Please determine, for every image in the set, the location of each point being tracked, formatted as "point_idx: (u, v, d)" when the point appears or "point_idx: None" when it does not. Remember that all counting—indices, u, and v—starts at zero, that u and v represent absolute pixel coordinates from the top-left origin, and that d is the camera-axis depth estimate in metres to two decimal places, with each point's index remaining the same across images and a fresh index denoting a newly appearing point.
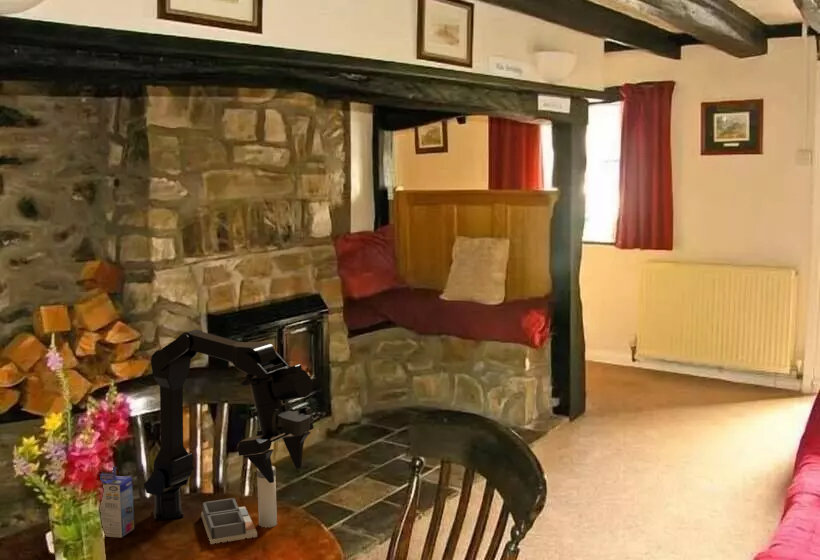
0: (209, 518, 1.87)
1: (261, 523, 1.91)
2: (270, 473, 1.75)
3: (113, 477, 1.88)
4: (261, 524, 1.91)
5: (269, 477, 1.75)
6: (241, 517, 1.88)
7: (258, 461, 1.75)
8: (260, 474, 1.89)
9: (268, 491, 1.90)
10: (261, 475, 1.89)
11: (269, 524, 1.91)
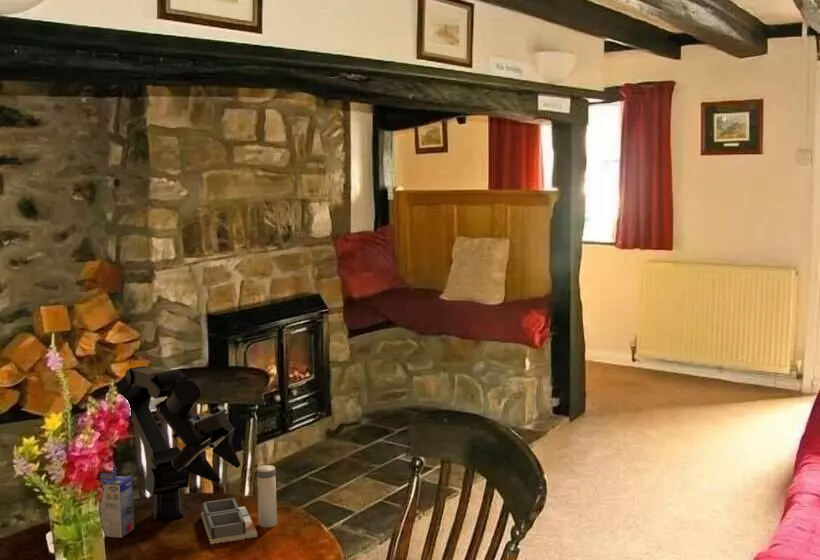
0: (209, 518, 1.87)
1: (261, 523, 1.91)
2: (213, 473, 1.83)
3: (113, 477, 1.88)
4: (261, 524, 1.91)
5: (214, 477, 1.83)
6: (241, 517, 1.88)
7: (198, 469, 1.83)
8: (260, 474, 1.89)
9: (268, 491, 1.90)
10: (261, 475, 1.89)
11: (269, 524, 1.91)
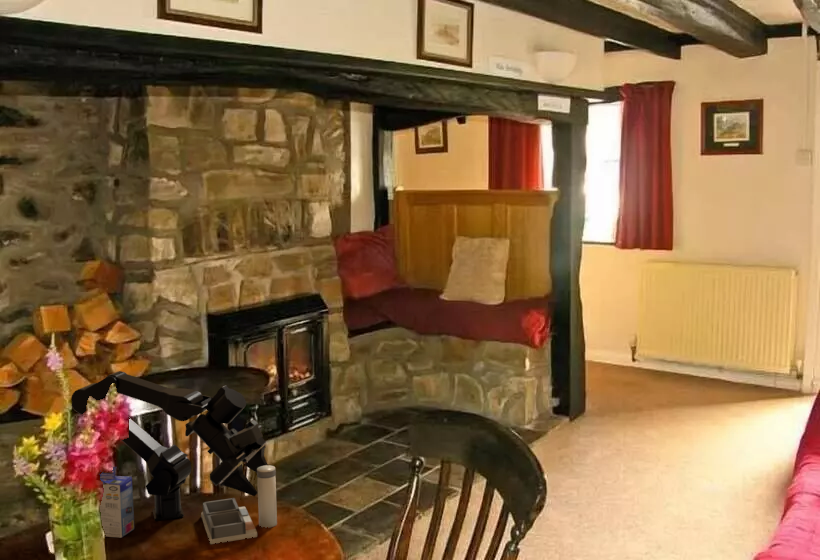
0: (209, 518, 1.87)
1: (261, 523, 1.91)
2: (250, 486, 1.86)
3: (113, 477, 1.88)
4: (261, 524, 1.91)
5: (251, 490, 1.87)
6: (241, 517, 1.88)
7: (235, 483, 1.86)
8: (260, 474, 1.89)
9: (268, 491, 1.90)
10: (261, 475, 1.89)
11: (269, 524, 1.91)
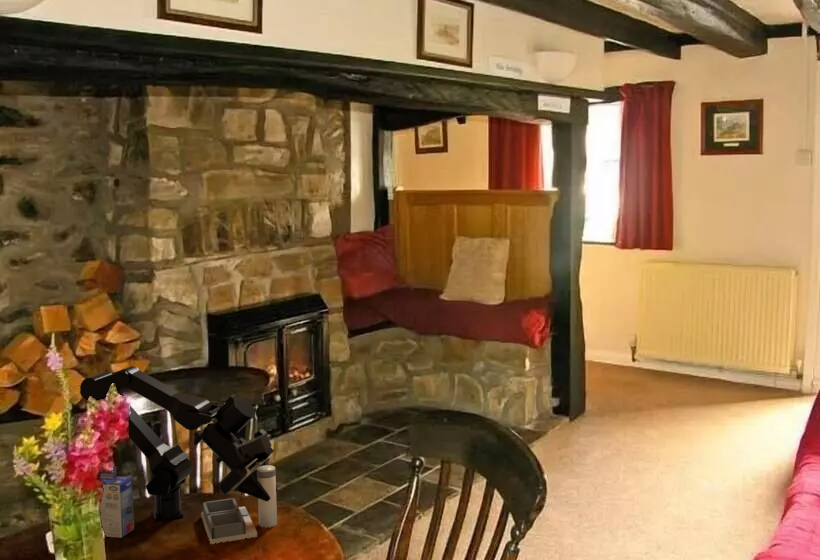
0: (209, 518, 1.87)
1: (261, 523, 1.91)
2: (263, 491, 1.89)
3: (113, 477, 1.88)
4: (261, 524, 1.91)
5: (264, 496, 1.89)
6: (241, 517, 1.88)
7: (248, 488, 1.89)
8: (260, 474, 1.89)
9: (268, 491, 1.90)
10: (261, 475, 1.89)
11: (269, 524, 1.91)
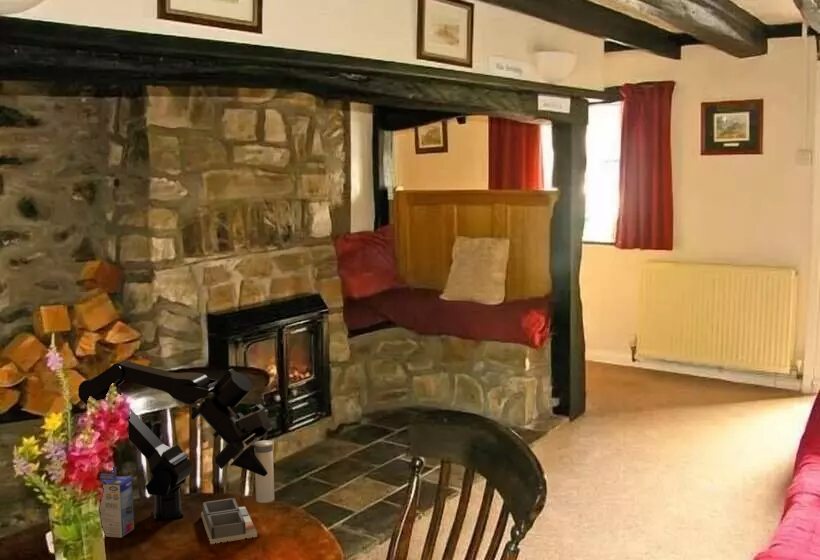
0: (209, 518, 1.87)
1: (258, 498, 1.90)
2: (260, 466, 1.87)
3: (113, 477, 1.88)
4: (258, 499, 1.90)
5: (261, 471, 1.88)
6: (241, 517, 1.88)
7: (245, 463, 1.88)
8: (257, 449, 1.88)
9: (266, 466, 1.89)
10: (258, 450, 1.88)
11: (266, 499, 1.90)
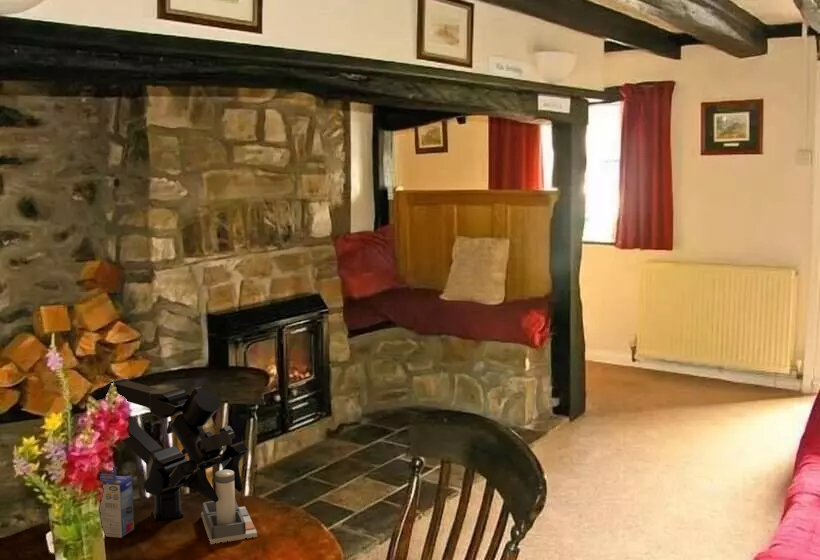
0: (209, 518, 1.87)
1: None
2: (211, 492, 1.82)
3: (113, 477, 1.88)
4: None
5: (212, 496, 1.83)
6: (241, 517, 1.88)
7: (198, 486, 1.84)
8: (216, 478, 1.84)
9: (223, 497, 1.84)
10: (216, 479, 1.84)
11: None
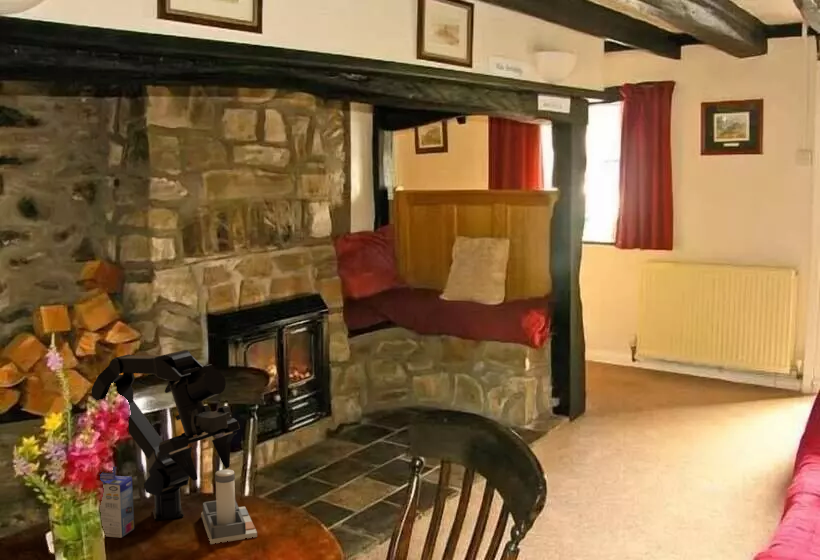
0: (209, 518, 1.87)
1: None
2: (192, 470, 1.83)
3: (113, 477, 1.88)
4: None
5: (192, 475, 1.84)
6: (241, 517, 1.88)
7: (180, 460, 1.84)
8: (216, 478, 1.84)
9: (223, 497, 1.84)
10: (217, 479, 1.84)
11: None
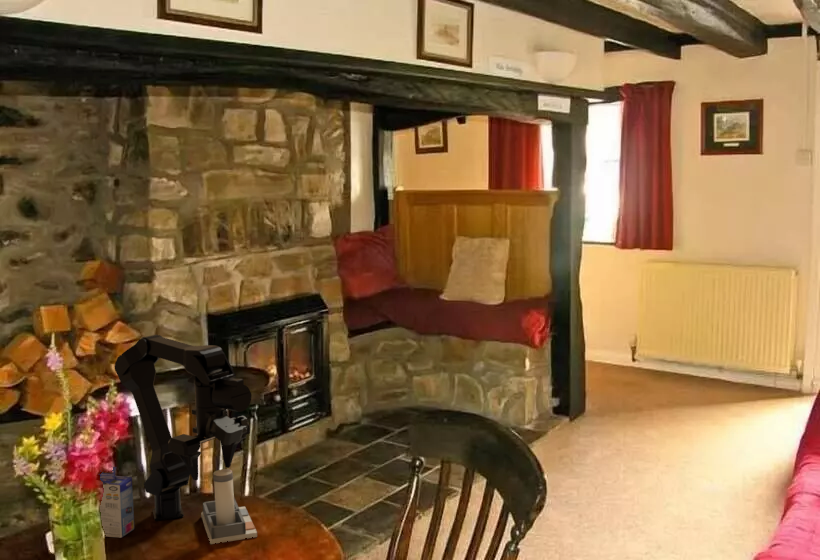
0: (209, 518, 1.87)
1: None
2: (195, 472, 1.83)
3: (113, 477, 1.88)
4: None
5: (193, 475, 1.84)
6: (241, 517, 1.88)
7: (186, 458, 1.83)
8: (214, 477, 1.85)
9: (222, 496, 1.84)
10: (215, 478, 1.84)
11: None
